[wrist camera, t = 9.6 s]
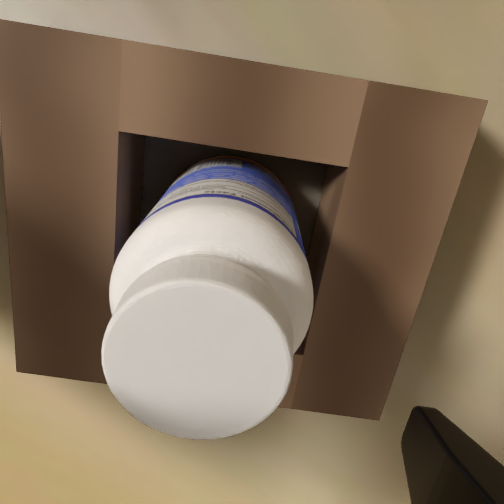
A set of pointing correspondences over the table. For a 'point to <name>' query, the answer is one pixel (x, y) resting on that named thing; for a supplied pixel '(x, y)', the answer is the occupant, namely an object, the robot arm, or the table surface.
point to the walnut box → (233, 137)
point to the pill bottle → (209, 303)
